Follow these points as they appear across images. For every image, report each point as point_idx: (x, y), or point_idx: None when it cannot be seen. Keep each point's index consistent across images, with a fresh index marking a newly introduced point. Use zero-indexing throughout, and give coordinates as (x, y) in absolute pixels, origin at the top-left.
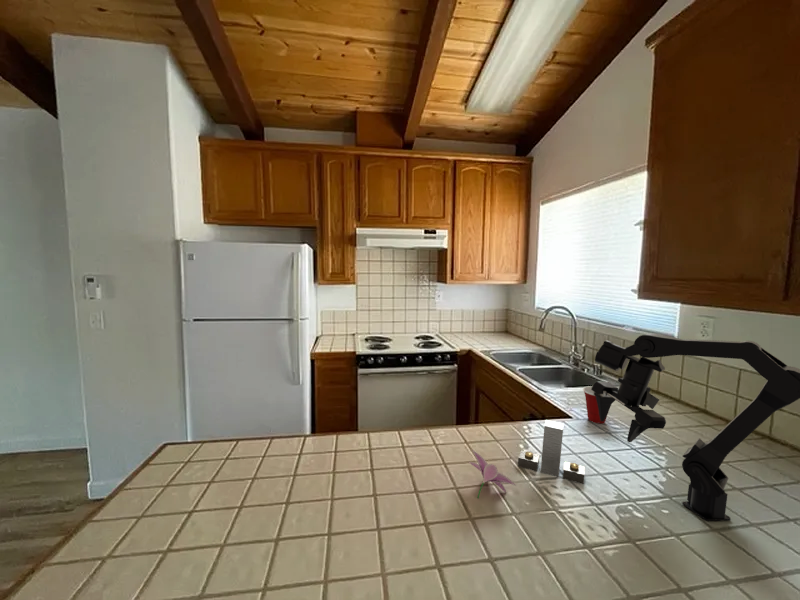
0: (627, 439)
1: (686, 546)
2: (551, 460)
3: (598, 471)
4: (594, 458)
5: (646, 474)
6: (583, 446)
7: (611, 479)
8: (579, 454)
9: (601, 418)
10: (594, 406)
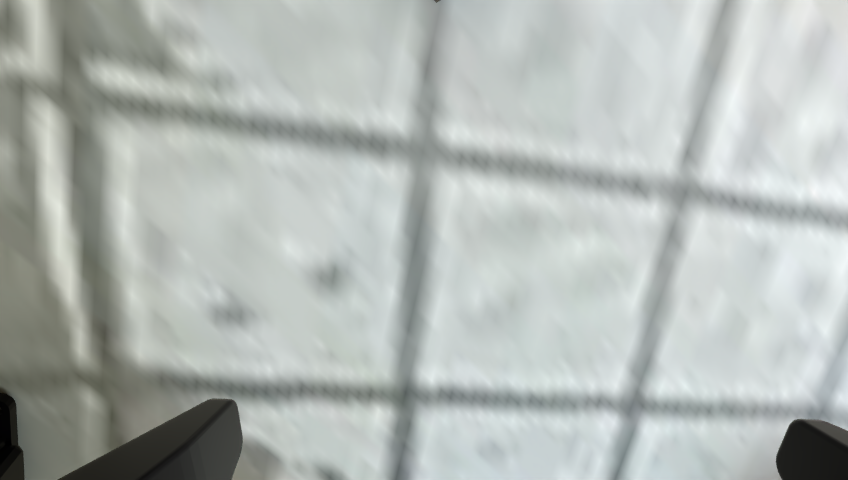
0: (212, 413)
1: None
2: None
3: (454, 169)
4: (590, 277)
5: (356, 445)
6: (719, 322)
7: (347, 176)
8: (661, 216)
9: (839, 450)
10: None
